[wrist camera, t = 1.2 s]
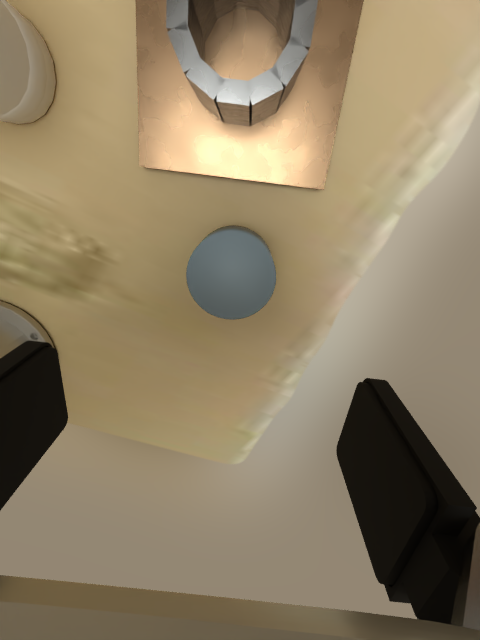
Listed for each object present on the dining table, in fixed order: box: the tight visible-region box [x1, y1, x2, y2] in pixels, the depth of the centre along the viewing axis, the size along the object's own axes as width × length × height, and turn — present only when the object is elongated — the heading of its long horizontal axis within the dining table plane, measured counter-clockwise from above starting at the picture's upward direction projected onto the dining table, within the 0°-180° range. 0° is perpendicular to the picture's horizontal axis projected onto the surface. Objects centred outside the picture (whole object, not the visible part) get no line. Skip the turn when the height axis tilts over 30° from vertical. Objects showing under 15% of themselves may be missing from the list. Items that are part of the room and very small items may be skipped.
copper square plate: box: [136, 0, 364, 190], centre depth 20 cm, size 16×16×8 cm
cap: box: [186, 226, 276, 319], centre depth 26 cm, size 7×7×8 cm
